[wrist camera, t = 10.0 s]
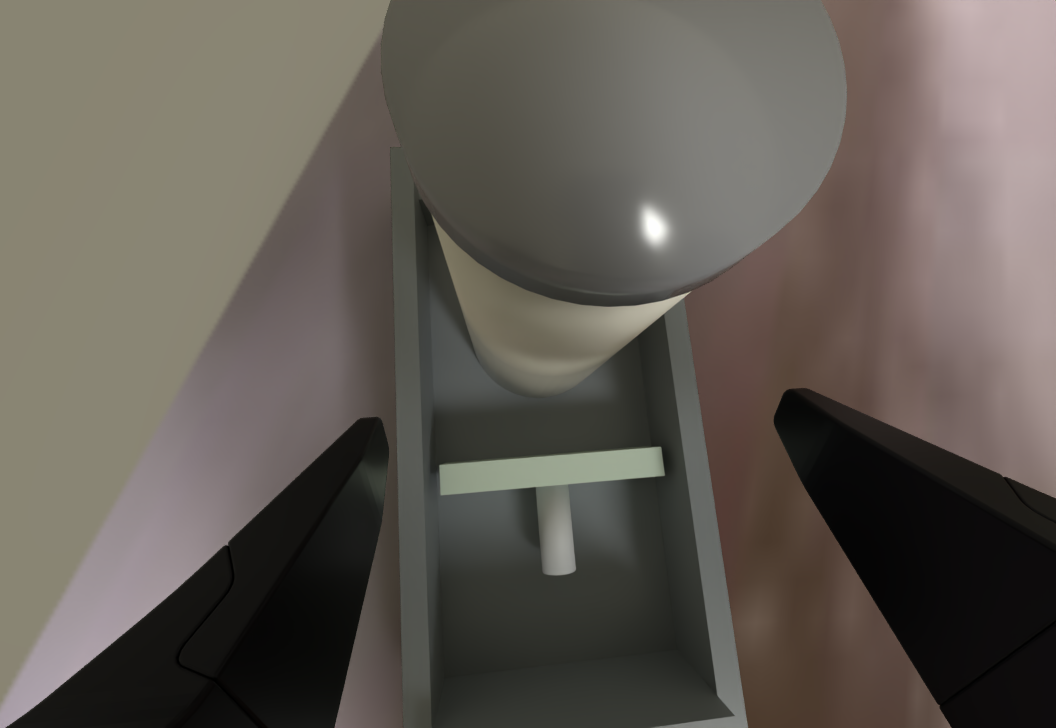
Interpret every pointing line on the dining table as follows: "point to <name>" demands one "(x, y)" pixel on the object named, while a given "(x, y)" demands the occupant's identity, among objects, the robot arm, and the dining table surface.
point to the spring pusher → (552, 487)
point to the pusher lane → (513, 531)
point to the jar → (604, 157)
